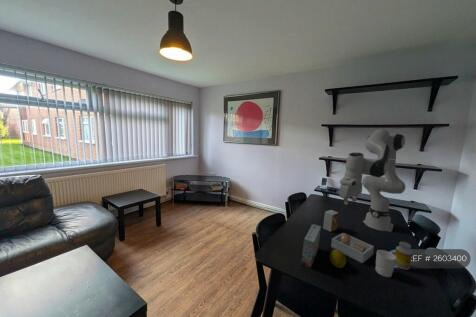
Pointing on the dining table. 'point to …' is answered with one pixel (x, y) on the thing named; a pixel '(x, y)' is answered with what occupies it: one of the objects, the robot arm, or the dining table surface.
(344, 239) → the brown oval piece
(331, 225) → the small box
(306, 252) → the snack box
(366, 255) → the tote
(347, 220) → the dining table surface
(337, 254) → the lemon
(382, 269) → the white cup
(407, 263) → the supplement bottle
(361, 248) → the beech cube
